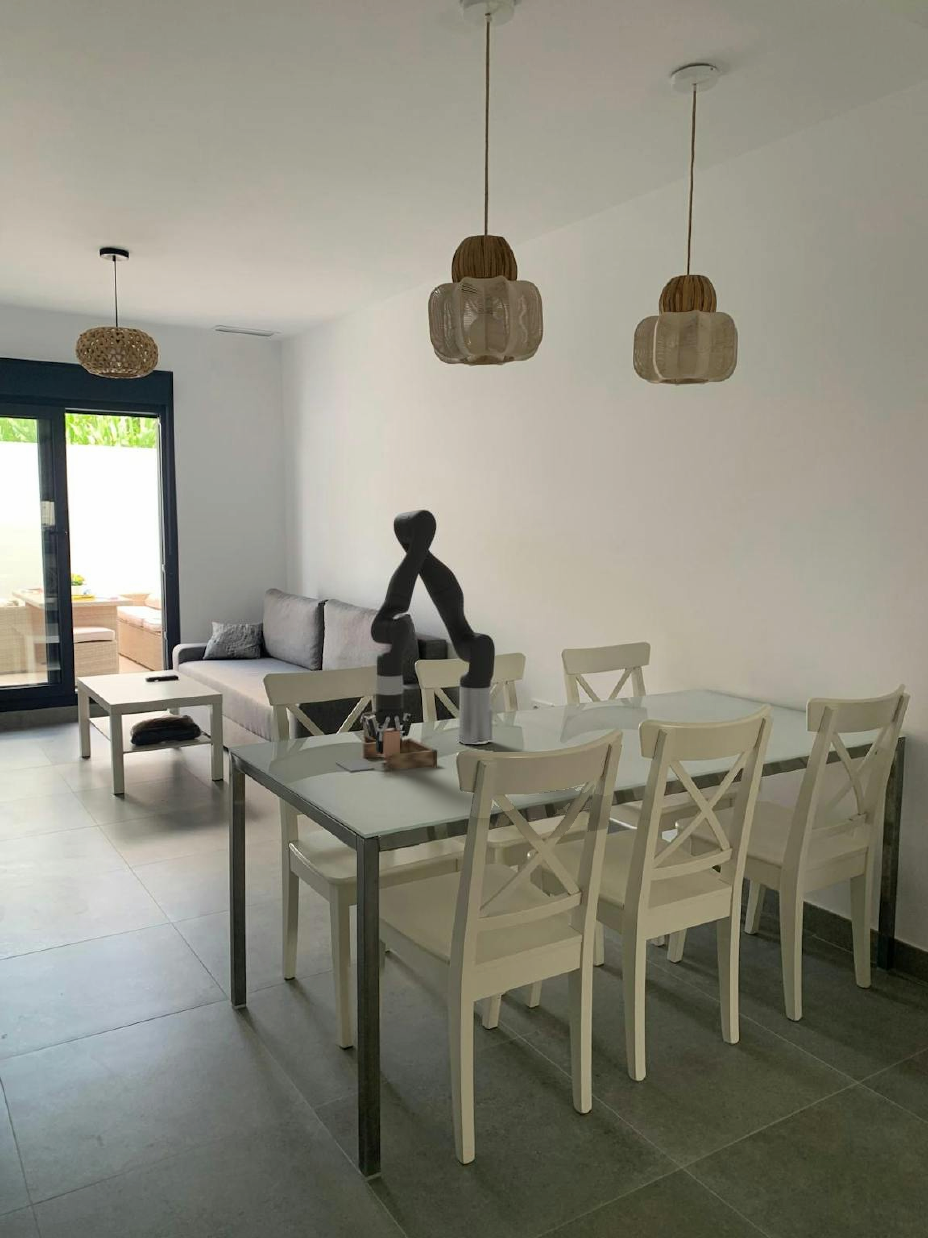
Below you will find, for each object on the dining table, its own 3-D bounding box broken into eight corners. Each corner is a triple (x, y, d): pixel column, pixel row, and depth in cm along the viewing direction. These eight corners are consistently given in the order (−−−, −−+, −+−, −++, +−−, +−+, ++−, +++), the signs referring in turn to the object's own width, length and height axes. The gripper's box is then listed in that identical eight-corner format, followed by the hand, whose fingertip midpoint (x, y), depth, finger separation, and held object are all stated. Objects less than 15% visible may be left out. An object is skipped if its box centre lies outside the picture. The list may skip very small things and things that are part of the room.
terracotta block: (392, 753, 268) (393, 728, 267) (399, 756, 264) (400, 731, 263) (377, 754, 266) (378, 729, 265) (384, 758, 262) (385, 732, 261)
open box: (410, 752, 277) (410, 738, 277) (437, 765, 263) (437, 750, 263) (363, 757, 270) (363, 743, 270) (388, 771, 256) (388, 756, 255)
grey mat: (359, 761, 266) (359, 759, 266) (374, 769, 257) (374, 767, 257) (335, 763, 263) (335, 762, 263) (350, 772, 254) (350, 770, 254)
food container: (395, 742, 289) (395, 709, 288) (401, 747, 283) (401, 713, 282) (355, 745, 285) (355, 712, 284) (360, 750, 279) (360, 716, 278)
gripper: (406, 687, 270) (406, 747, 271) (359, 690, 263) (359, 752, 264) (419, 691, 263) (418, 753, 265) (371, 695, 256) (370, 758, 258)
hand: (388, 752), depth 265 cm, fingers closed on terracotta block, 4 cm apart
